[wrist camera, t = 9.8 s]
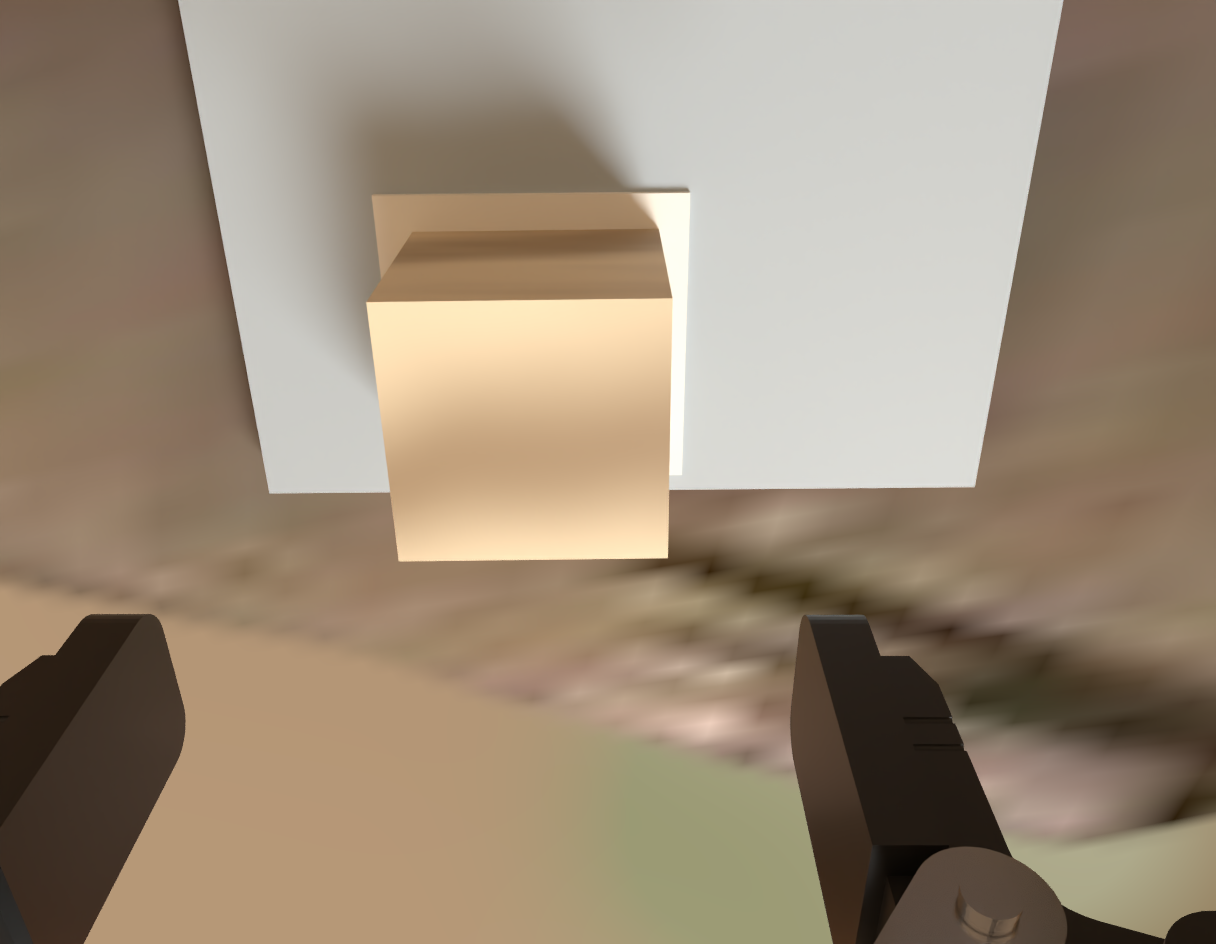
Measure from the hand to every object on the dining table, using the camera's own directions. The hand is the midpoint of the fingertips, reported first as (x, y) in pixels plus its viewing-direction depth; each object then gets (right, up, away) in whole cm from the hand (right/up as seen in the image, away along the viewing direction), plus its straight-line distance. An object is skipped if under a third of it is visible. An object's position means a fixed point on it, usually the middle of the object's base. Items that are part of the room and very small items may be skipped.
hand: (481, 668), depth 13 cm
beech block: (0, +5, +11) cm, 12 cm away
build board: (+2, +8, +11) cm, 14 cm away
